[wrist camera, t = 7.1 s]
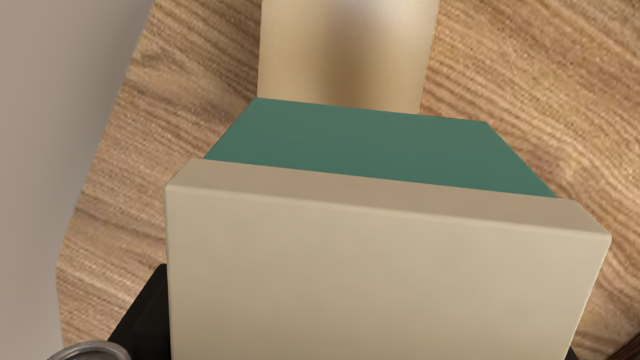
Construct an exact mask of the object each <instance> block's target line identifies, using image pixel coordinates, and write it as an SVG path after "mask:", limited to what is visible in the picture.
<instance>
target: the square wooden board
mask: <svg viewBox="0 0 640 360" xmlns="http://www.w3.org/2000/svg"><path fill="white" fill-rule="evenodd" d="M440 1H441V0H262V3H261V23H260V42H259V61H258V81H257V97H259V98H268V99H277V100H287V101H296V102H305V103H315V104H324V105H333V106H343V107H352V108H361V109H371V110H380V111H389V112H399V113H408V114H417V115H418V113H419V108H420V103H421V98H422V93H423V88H424V83H425V78H426V72H427V67H428V62H429V57H430V52H431V47H432V42H433V37H434V32H435V27H436V21H437V16H438V11H439V6H440Z"/></svg>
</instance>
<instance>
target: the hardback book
mask: <svg viewBox="0 0 640 360" xmlns="http://www.w3.org/2000/svg"><path fill="white" fill-rule="evenodd" d="M609 360H640V335H639V336H638V337H636V338H635V339H634V340H633V341H631V342H630V343H629V344H628V345H626V346H625V347H624V348H623V349H621V350H620V351H619V352H618V353H616V354H615V355H614V356H613V357H612V358H610V359H609Z"/></svg>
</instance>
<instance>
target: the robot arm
mask: <svg viewBox="0 0 640 360" xmlns="http://www.w3.org/2000/svg"><path fill="white" fill-rule="evenodd" d="M47 360H171V341H170V320H169V298H168V277H167V264H164V263H163V264H160V265H159V266H158V267H157V269H156V270H155V271H154V273H153V274H152V276H151V277H150V279H149V280H148V282H147V283H146V285H145V286H144V287H143V289H142V290H141V292H140V293H139V295H138V296H137V298H136V299H135V301H134V302H133V303H132V305H131V306H130V308H129V309H128V311H127V312H126V314H125V315H124V317H123V318H122V319H121V321H120V322H119V324H118V325H117V327H116V328H115V330H114V331H113V333H112V334H111V336H110V337H109V338H108V340H107V341H87V342H82V343H77V344H75V345H72V346H69V347H67V348H64V349H62V350H61V351H59V352H57V353H56V354H54V355H53V356H51V357H50V358H48V359H47ZM564 360H579V359H578V358H577V356H576V354H575V353H574V351H573V349H572V348H571V346H570V347H569V349H568V352H567V354H566V357H565V359H564Z"/></svg>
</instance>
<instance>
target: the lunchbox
mask: <svg viewBox="0 0 640 360" xmlns="http://www.w3.org/2000/svg"><path fill="white" fill-rule="evenodd" d="M163 193H164V214H165V235H166V256H167V277H168V298H169V320H170V341H171V360H564V359H565V357H566V354H567V352H568V349H569V347H570V344H571V342H572V339H573V337H574V334H575V332H576V329H577V327H578V324H579V322H580V319H581V317H582V314H583V312H584V309H585V307H586V304H587V302H588V299H589V297H590V294H591V292H592V289H593V286H594V284H595V281H596V279H597V276H598V274H599V271H600V269H601V266H602V264H603V261H604V259H605V256H606V254H607V251H608V249H609V246H610V244H611V241H612V237H611V234H610V233H609V232H608V231H607V230H606V229H605V228H604V227H603V226H602V225H601V224H599V223H598V222H597V221H596V220H595V219H594V218H593V217H592V216H591V215H590V214H589V213H588V212H587V211H586V210H585V209H584V208H583V207H582V206H581V205H580V204H579V203H578V202H576V201H575V200H568V199H559V198H558V197H557V196H556V195H555V194H554V193H553V192H552V191H551V190H550V189H549V188H548V186H547V185H546V184H545V183H544V182H543V181H542V180H541V179H540V178H539V177H538V176H537V175H536V174H535V173H534V172H533V171H532V170H531V169H530V168H529V167H528V166H527V164H526V163H525V162H524V161H523V160H522V159H521V158H520V157H519V156H518V155H517V154H516V153H515V152H514V151H513V150H512V149H511V148H510V147H509V146H508V145H507V143H506V142H505V141H504V140H503V139H502V138H501V137H500V136H499V135H498V134H497V133H496V132H495V131H494V130H493V129H492V128H491V127H490V126H489V125H488V124H487V123H486V122H483V121H473V120H464V119H455V118H445V117H436V116H427V115H417V114H408V113H399V112H389V111H380V110H371V109H361V108H352V107H343V106H333V105H324V104H315V103H305V102H296V101H287V100H277V99H268V98H259V97H256V98H254V99H253V100H252V101H251V103H250V104H249V105H248V106H247V107H246V108H245V110H244V111H243V112H242V113H241V114H240V115H239V117H238V118H237V119H236V120H235V121H234V123H233V124H232V125H231V126H230V127H229V128H228V130H227V131H226V132H225V133H224V134H223V135H222V137H221V138H220V139H219V140H218V141H217V142H216V144H215V145H214V146H213V147H212V148H211V150H210V151H209V152H208V153H207V154H206V155H205V157H204V158H203V159H198V158H191V159H188V160H187V161H186V162H185V164H184V165H183V166H182V167H181V168H180V169H179V170H178V171H177V172H176V173H175V174H174V175H173V176H172V178H171V179H170V180H169V181H168V182H167V183H166V184H165V186H164V188H163Z"/></svg>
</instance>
